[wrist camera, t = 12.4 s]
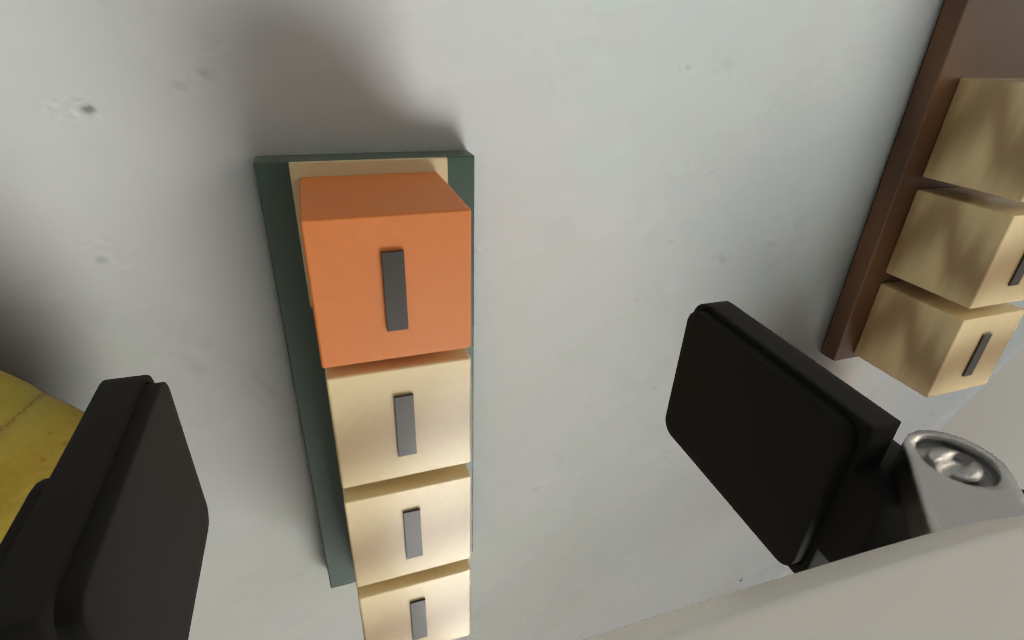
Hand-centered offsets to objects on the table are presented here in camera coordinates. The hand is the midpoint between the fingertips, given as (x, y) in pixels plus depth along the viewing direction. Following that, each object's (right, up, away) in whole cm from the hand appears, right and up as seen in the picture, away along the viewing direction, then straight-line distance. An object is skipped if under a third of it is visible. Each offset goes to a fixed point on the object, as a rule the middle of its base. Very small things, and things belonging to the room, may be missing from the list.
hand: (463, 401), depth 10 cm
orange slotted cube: (-4, +4, +9) cm, 11 cm away
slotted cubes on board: (+22, +9, +18) cm, 30 cm away
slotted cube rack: (-4, -2, +13) cm, 14 cm away
